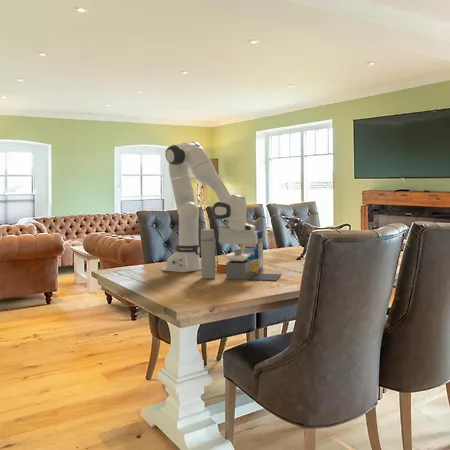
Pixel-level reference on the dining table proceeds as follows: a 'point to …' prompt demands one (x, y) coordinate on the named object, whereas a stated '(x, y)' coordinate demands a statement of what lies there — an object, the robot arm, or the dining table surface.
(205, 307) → the dining table surface
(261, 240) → the beverage box
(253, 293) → the dining table surface
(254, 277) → the mat
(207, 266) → the water bottle
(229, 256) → the lid
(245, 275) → the storage box
